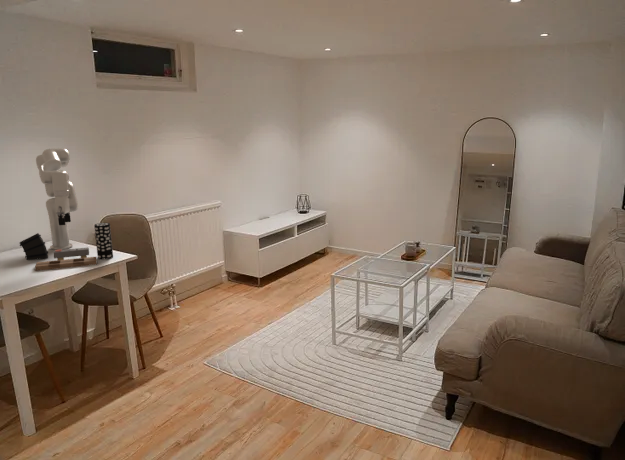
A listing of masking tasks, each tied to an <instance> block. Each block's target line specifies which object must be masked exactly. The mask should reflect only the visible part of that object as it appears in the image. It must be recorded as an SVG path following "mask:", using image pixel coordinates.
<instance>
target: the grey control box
mask: <svg viewBox="0 0 625 460" xmlns="http://www.w3.org/2000/svg"><path fill="white" fill-rule="evenodd" d="M89 248H90V247H87V246H86V247H78V248H68V249H60V250H53V259H56V260H65V258H74V257H80V258H87V256H89V255H90V249H89Z"/></svg>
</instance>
